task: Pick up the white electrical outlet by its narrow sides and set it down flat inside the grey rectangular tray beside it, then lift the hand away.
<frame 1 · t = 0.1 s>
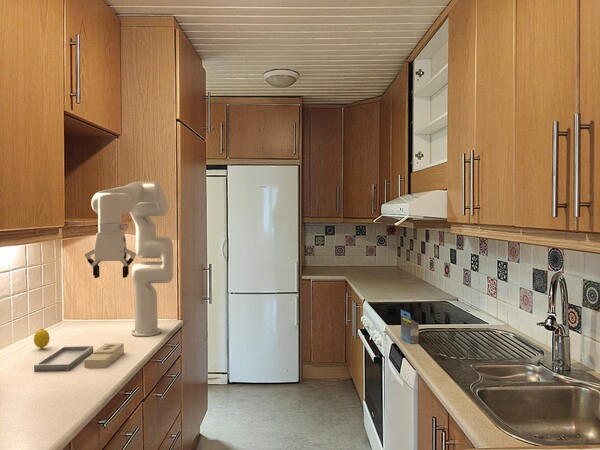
hand: (111, 277, 174), 31 cm above the counter, tool pointing down, fingers open, 9 cm apart
lemon: (41, 349, 197), on the counter
grey rectangular tray: (65, 360, 181), on the counter
label tape cartridge: (409, 341, 205), on the counter
electrical outlet: (105, 361, 182), on the counter
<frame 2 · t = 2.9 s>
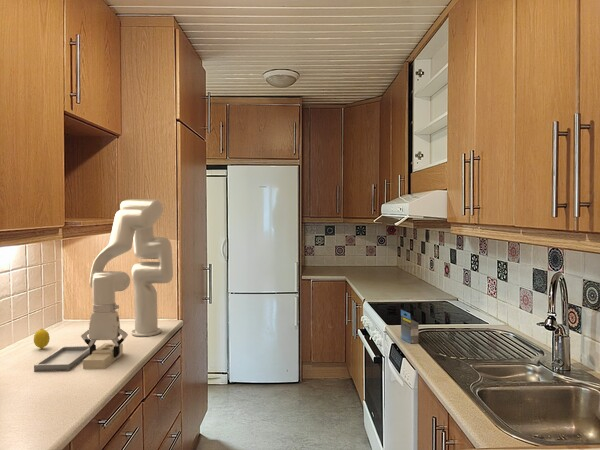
hand: (104, 356, 182), 1 cm above the counter, tool pointing down, fingers closed on electrical outlet, 7 cm apart
electrical outlet: (104, 361, 181), on the counter, touching gripper
everything else where it was.
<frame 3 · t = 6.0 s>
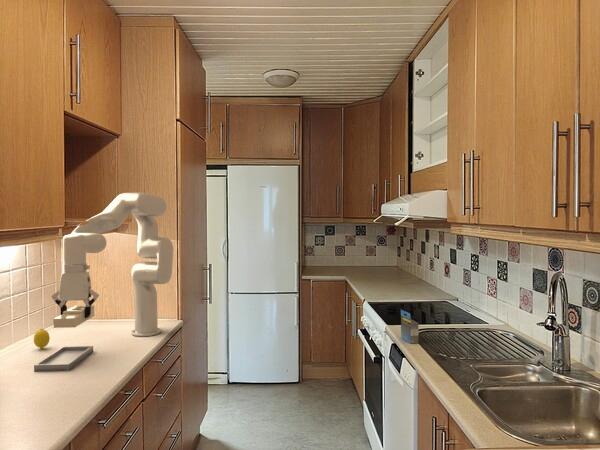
hand: (75, 317, 181), 16 cm above the counter, tool pointing down, fingers closed on electrical outlet, 7 cm apart
electrical outlet: (75, 321, 180), point 14 cm above the counter, touching gripper
everything else where it was.
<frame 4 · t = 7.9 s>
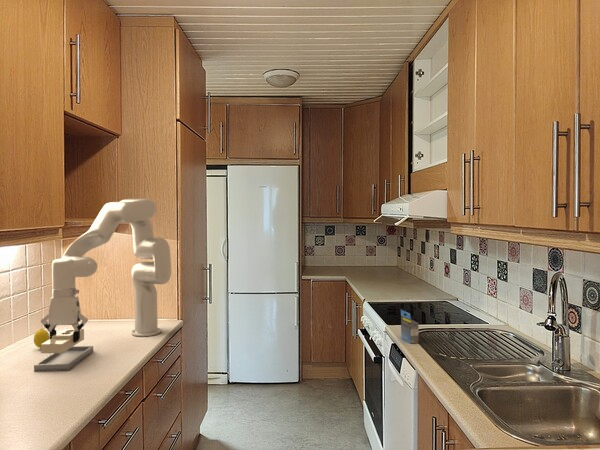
hand: (64, 341, 180), 7 cm above the counter, tool pointing down, fingers closed on electrical outlet, 7 cm apart
electrical outlet: (63, 346, 180), point 6 cm above the counter, touching gripper
everything else where it was.
when the fingers open (3 cm above the counter, at t = 9.2 s): electrical outlet drops 1 cm, resting on grey rectangular tray.
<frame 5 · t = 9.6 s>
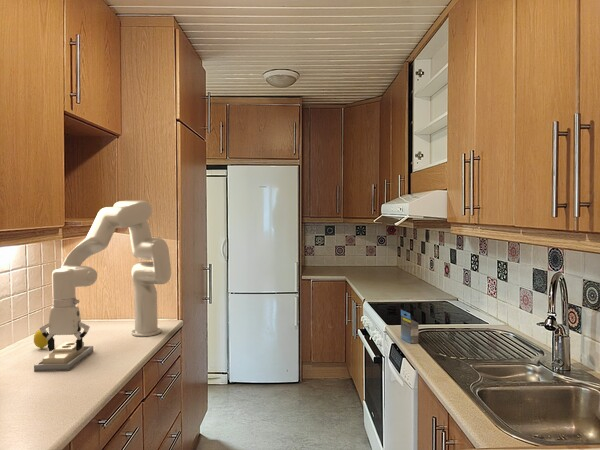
hand: (65, 350, 181), 4 cm above the counter, tool pointing down, fingers open, 9 cm apart
electrical outlet: (64, 359, 180), point 1 cm above the counter, touching grey rectangular tray
everything else where it was.
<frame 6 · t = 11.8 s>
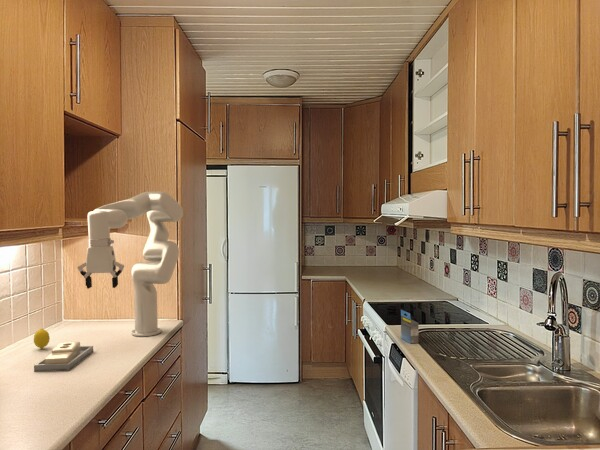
hand: (102, 287, 192), 25 cm above the counter, tool pointing down, fingers open, 9 cm apart
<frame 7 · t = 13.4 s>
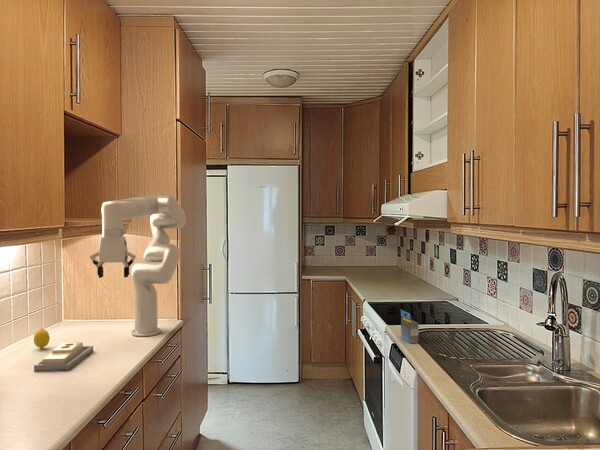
hand: (113, 277, 195), 28 cm above the counter, tool pointing down, fingers open, 9 cm apart
at the end: electrical outlet 1.3 cm off-centre on the grey rectangular tray, point 0.6 cm above the grey rectangular tray's base; electrical outlet tilted 0°; the gripper is holding nothing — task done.
